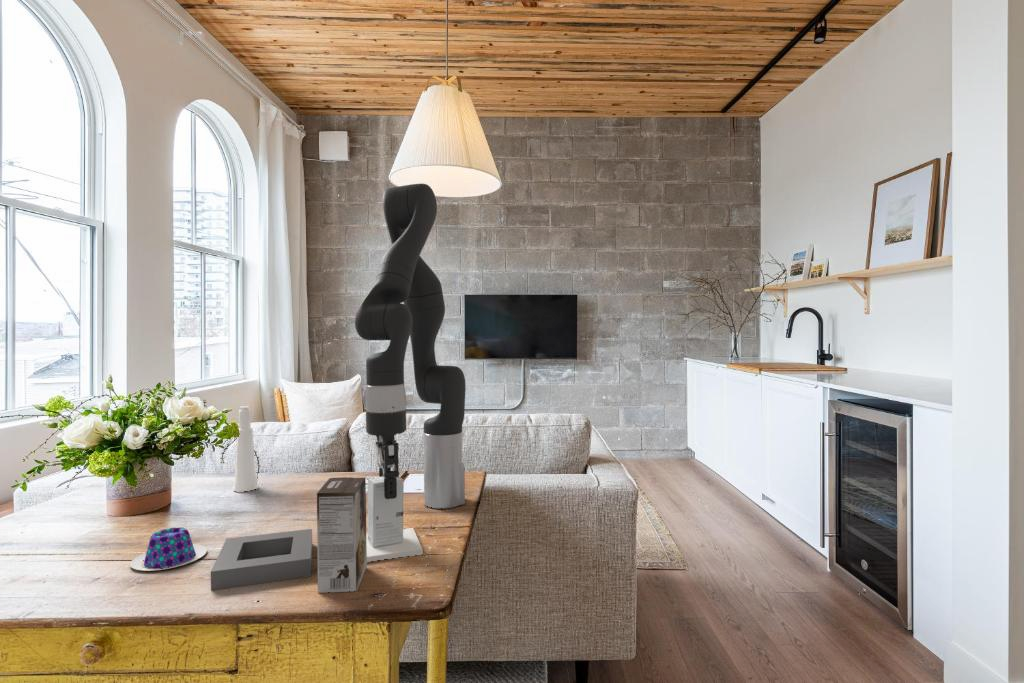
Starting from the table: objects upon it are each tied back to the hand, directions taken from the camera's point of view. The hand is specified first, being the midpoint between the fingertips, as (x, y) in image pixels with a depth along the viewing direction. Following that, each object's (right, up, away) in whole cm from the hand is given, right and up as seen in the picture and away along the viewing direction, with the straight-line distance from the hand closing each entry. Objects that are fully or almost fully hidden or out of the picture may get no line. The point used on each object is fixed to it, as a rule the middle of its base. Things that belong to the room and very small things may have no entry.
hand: (387, 491), depth 105 cm
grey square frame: (-20, -11, -8) cm, 24 cm away
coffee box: (-4, -11, -14) cm, 18 cm away
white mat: (0, -11, 0) cm, 11 cm away
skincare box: (0, -10, 0) cm, 10 cm away
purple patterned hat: (-39, -12, -5) cm, 41 cm away
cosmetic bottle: (-47, -11, +40) cm, 63 cm away
